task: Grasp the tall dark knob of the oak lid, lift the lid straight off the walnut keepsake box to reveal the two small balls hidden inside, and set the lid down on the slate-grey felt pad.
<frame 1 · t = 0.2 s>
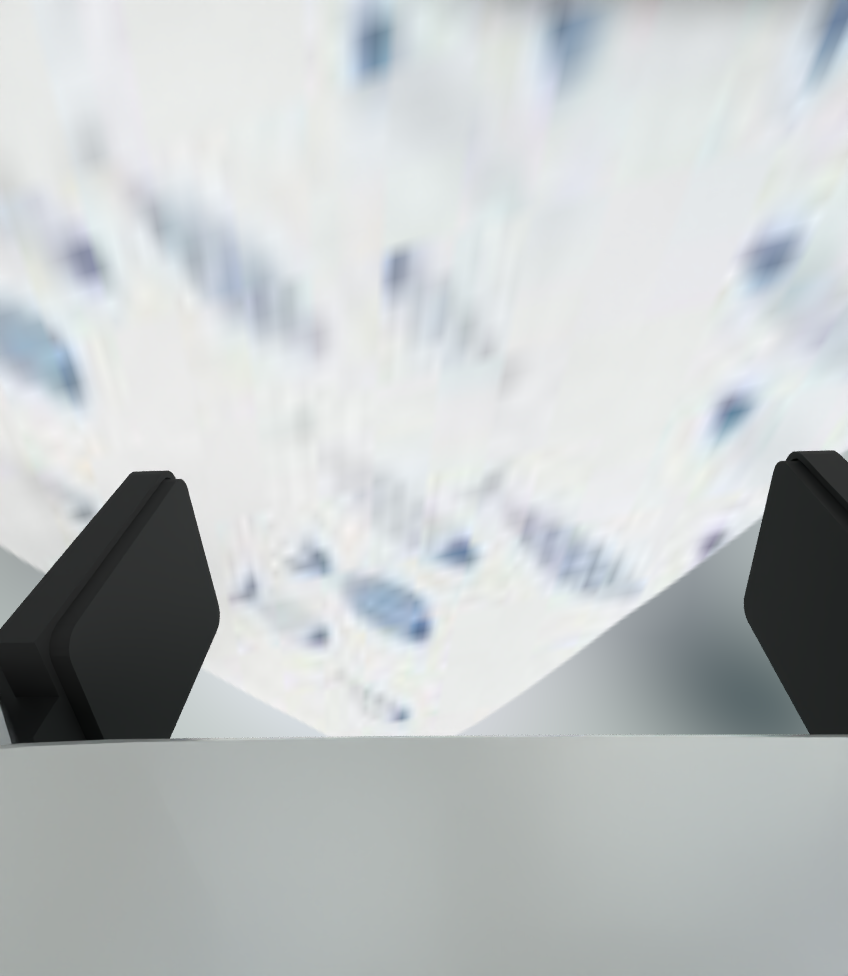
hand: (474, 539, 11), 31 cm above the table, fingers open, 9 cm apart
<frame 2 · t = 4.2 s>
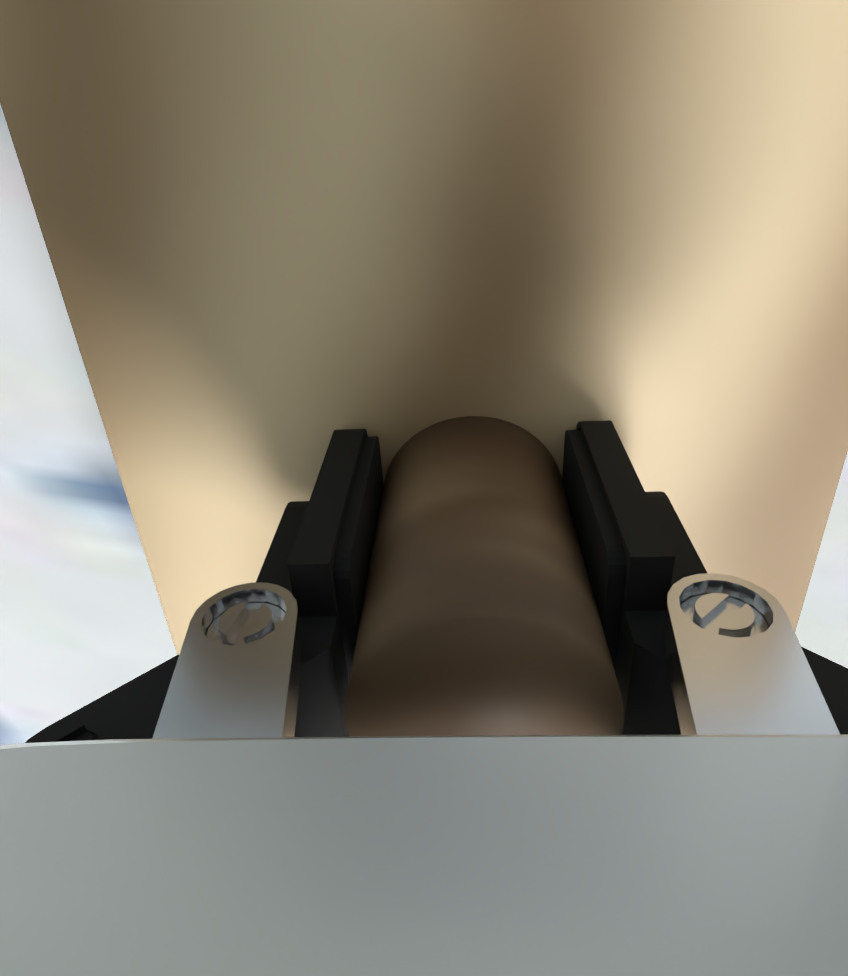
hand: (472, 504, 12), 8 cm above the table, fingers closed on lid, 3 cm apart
lid: (471, 470, 13), point 7 cm above the table, touching gripper, keepsake box
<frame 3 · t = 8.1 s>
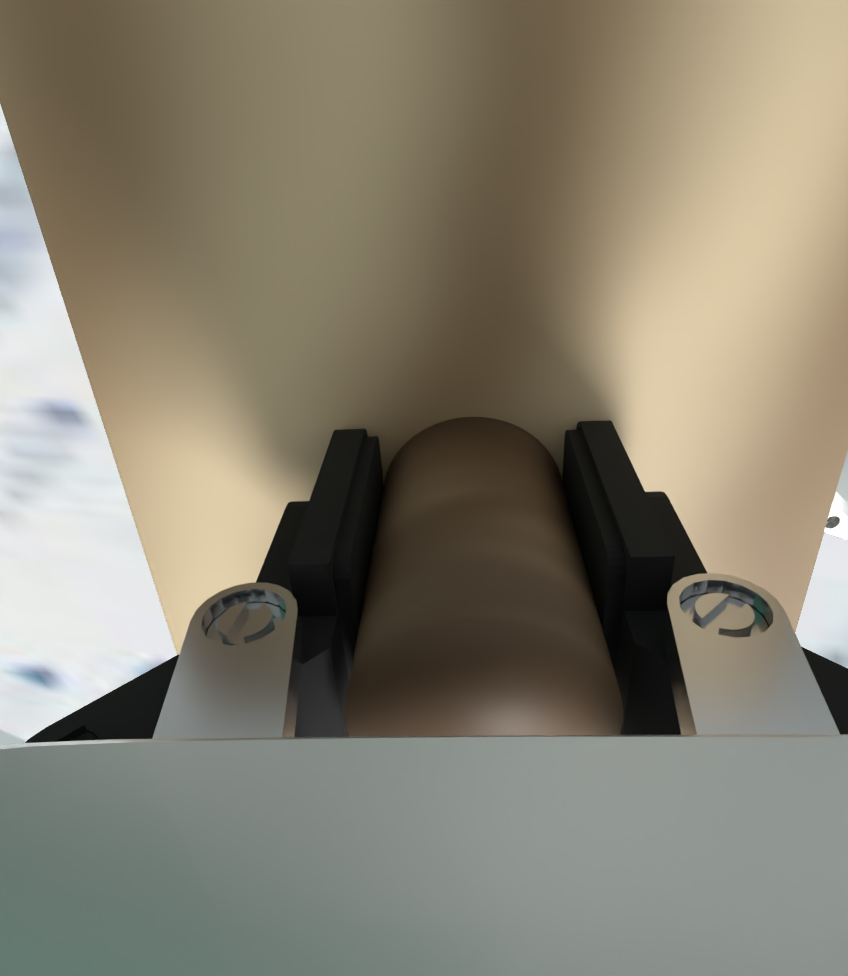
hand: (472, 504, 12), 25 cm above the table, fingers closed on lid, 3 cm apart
lid: (471, 471, 13), point 24 cm above the table, touching gripper
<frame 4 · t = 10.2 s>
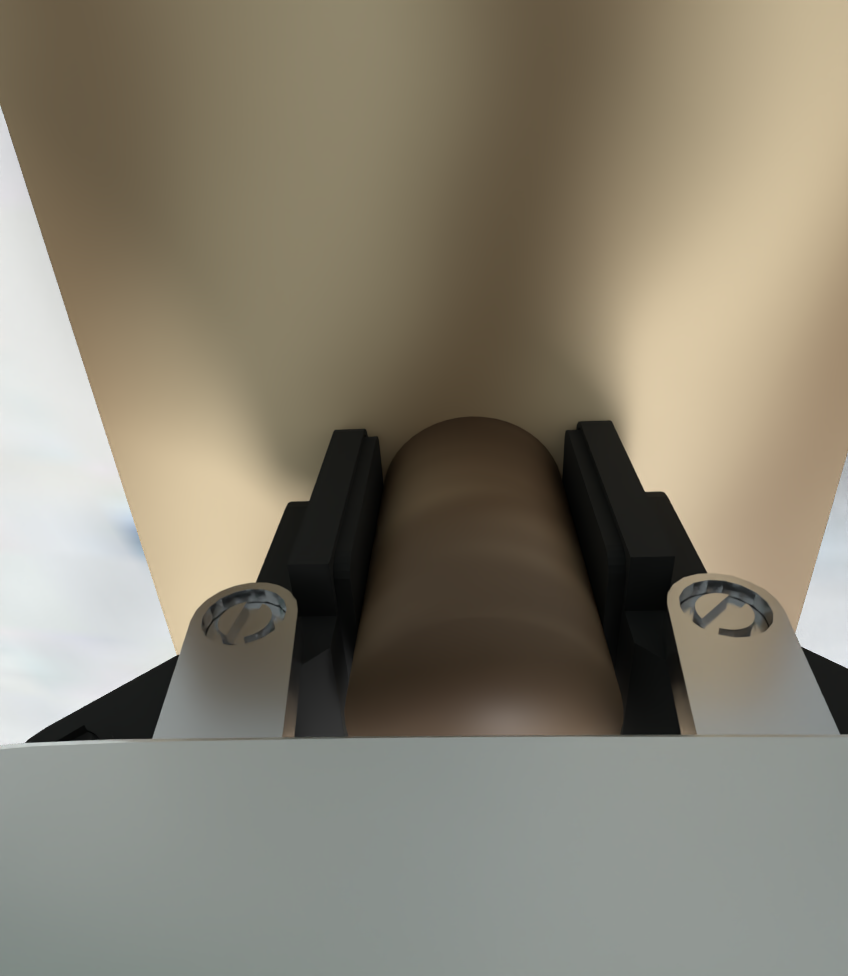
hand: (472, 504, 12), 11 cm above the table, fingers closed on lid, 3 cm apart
lid: (471, 471, 13), point 10 cm above the table, touching gripper
when the fingers open (4 cm above the table, at t = 12.0 s): lid drops 2 cm, resting on felt pad.
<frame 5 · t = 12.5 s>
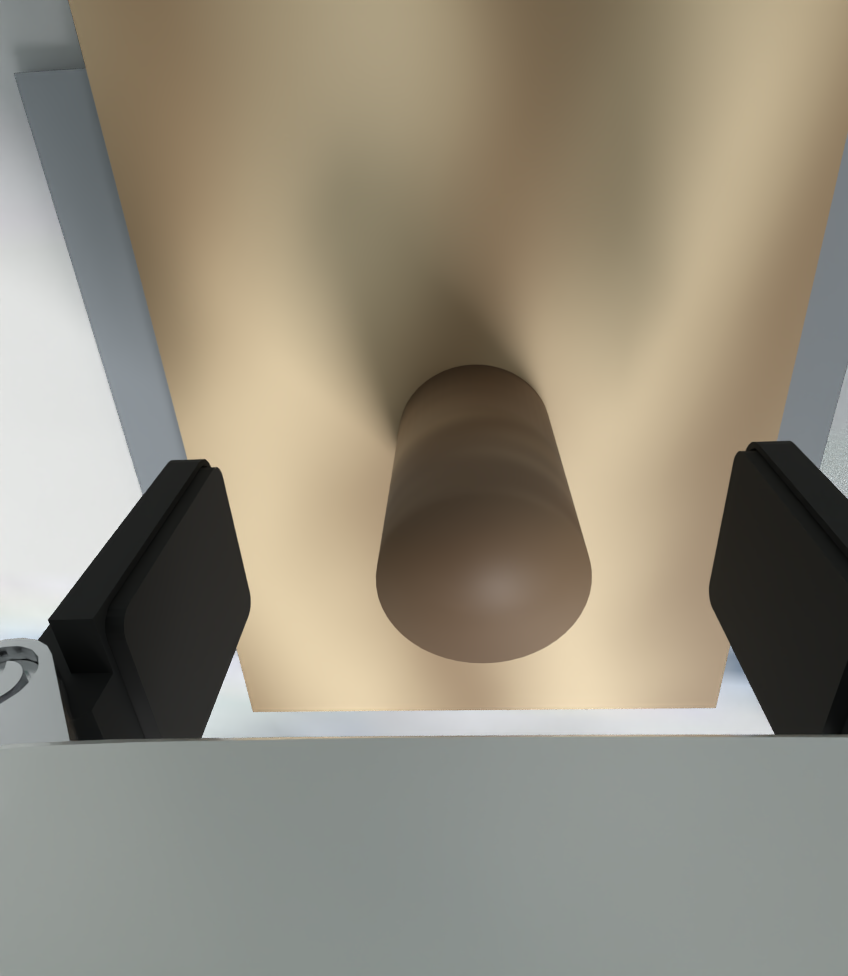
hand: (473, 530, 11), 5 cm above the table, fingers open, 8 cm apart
lid: (473, 416, 15), resting on felt pad
felt pad: (468, 407, 16), on the table
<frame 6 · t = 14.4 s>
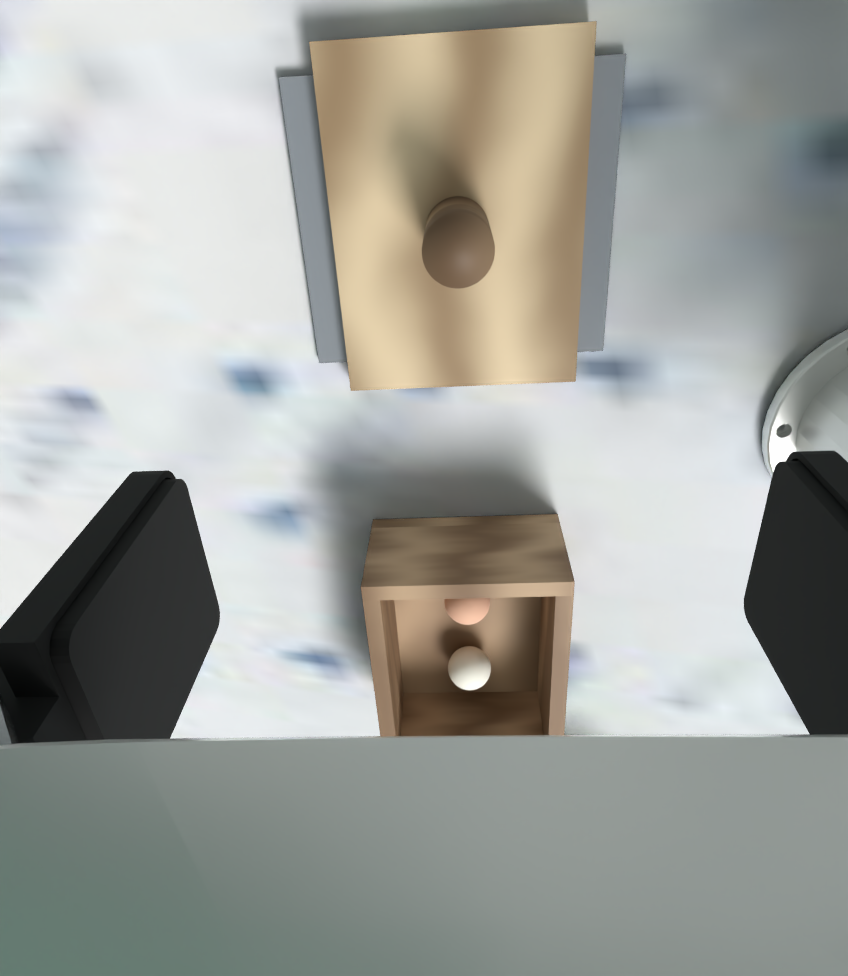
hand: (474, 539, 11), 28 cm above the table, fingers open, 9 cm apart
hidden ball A: (467, 601, 45), point 2 cm above the table, touching keepsake box
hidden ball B: (469, 668, 48), point 2 cm above the table, touching keepsake box
lid: (457, 227, 35), resting on felt pad
felt pad: (455, 224, 35), on the table
keepsake box: (467, 611, 48), on the table
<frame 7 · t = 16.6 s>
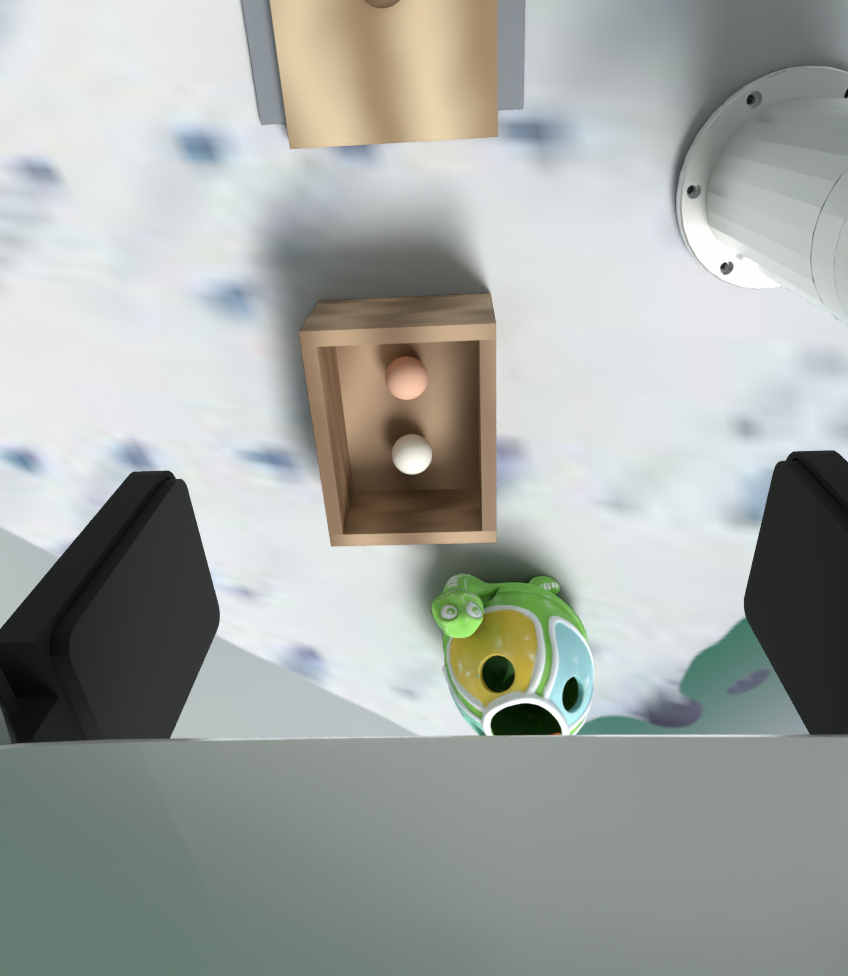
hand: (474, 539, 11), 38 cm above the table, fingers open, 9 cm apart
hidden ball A: (406, 378, 48), point 2 cm above the table, touching keepsake box
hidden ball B: (411, 454, 51), point 2 cm above the table, touching keepsake box
turtle holder: (503, 613, 62), on the table
keepsake box: (411, 403, 51), on the table
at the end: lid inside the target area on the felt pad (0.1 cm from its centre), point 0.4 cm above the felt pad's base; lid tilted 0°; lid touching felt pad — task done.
